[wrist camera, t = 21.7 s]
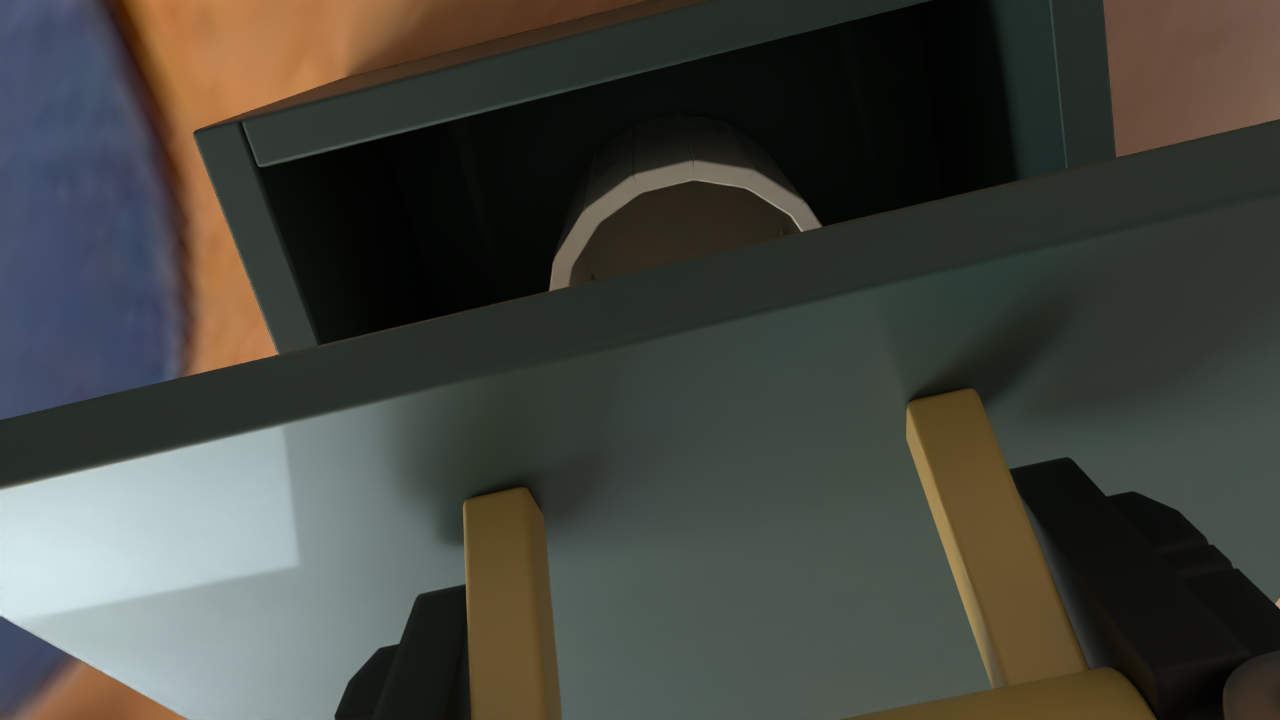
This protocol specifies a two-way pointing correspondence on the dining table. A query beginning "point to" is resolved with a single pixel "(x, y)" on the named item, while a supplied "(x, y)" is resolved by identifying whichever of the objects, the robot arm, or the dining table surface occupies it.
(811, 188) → the open lidded box
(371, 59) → the dining table surface
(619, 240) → the cup
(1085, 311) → the lid
